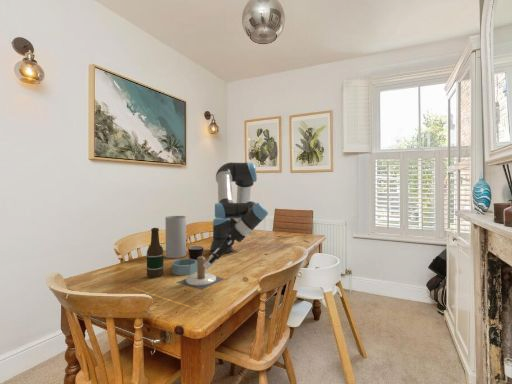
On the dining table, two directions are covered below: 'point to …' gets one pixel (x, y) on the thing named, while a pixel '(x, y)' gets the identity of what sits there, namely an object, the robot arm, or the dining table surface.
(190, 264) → the bowl
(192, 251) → the coffee mug
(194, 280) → the lid
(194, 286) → the mat
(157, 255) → the beer bottle
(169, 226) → the cylinder vase
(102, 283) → the dining table surface
